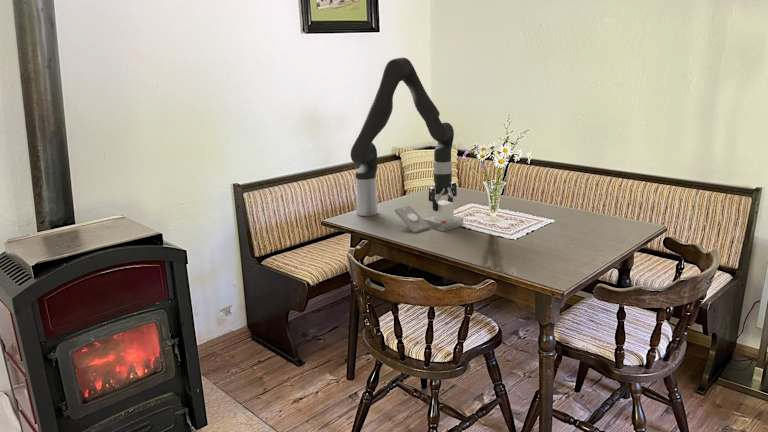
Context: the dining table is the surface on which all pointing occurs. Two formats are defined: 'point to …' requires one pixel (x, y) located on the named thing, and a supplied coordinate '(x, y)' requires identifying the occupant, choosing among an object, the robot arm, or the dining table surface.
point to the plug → (444, 211)
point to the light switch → (412, 219)
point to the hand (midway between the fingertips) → (442, 208)
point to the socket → (444, 223)
